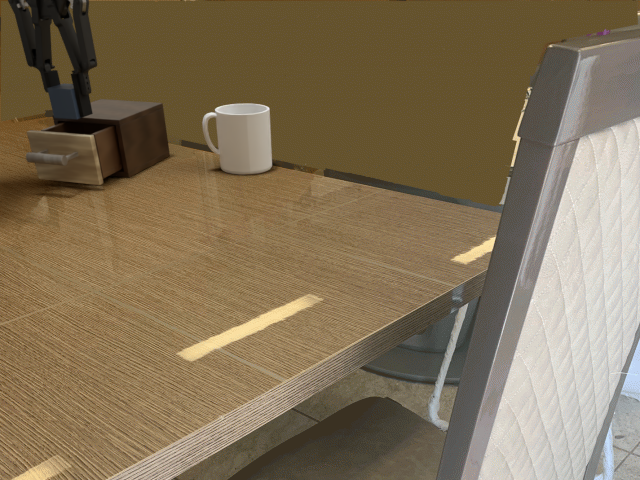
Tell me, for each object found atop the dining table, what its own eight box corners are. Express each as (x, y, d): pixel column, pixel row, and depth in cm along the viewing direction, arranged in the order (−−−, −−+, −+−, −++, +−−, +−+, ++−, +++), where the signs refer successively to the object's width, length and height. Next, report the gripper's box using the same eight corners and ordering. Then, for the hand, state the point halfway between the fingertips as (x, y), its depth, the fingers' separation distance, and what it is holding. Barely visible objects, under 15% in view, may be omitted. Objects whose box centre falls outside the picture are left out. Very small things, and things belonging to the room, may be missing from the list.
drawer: (83, 193, 108) (72, 143, 103) (20, 187, 111) (6, 138, 106) (142, 163, 123) (135, 118, 118) (85, 158, 126) (76, 114, 121)
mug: (267, 158, 128) (264, 102, 122) (276, 172, 121) (274, 113, 115) (204, 163, 126) (198, 105, 120) (210, 177, 118) (203, 117, 112)
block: (92, 113, 112) (86, 84, 110) (77, 119, 109) (70, 89, 106) (70, 112, 114) (63, 83, 111) (54, 117, 110) (47, 88, 107)
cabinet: (129, 177, 119) (118, 120, 113) (65, 171, 122) (52, 115, 116) (170, 155, 131) (162, 102, 125) (110, 150, 134) (101, 99, 128)
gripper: (-30, -53, 96) (16, 116, 110) (71, -54, 92) (105, 122, 106) (4, -54, 102) (43, 107, 116) (100, -55, 98) (129, 112, 112)
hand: (73, 114), depth 111 cm, fingers closed on block, 5 cm apart
